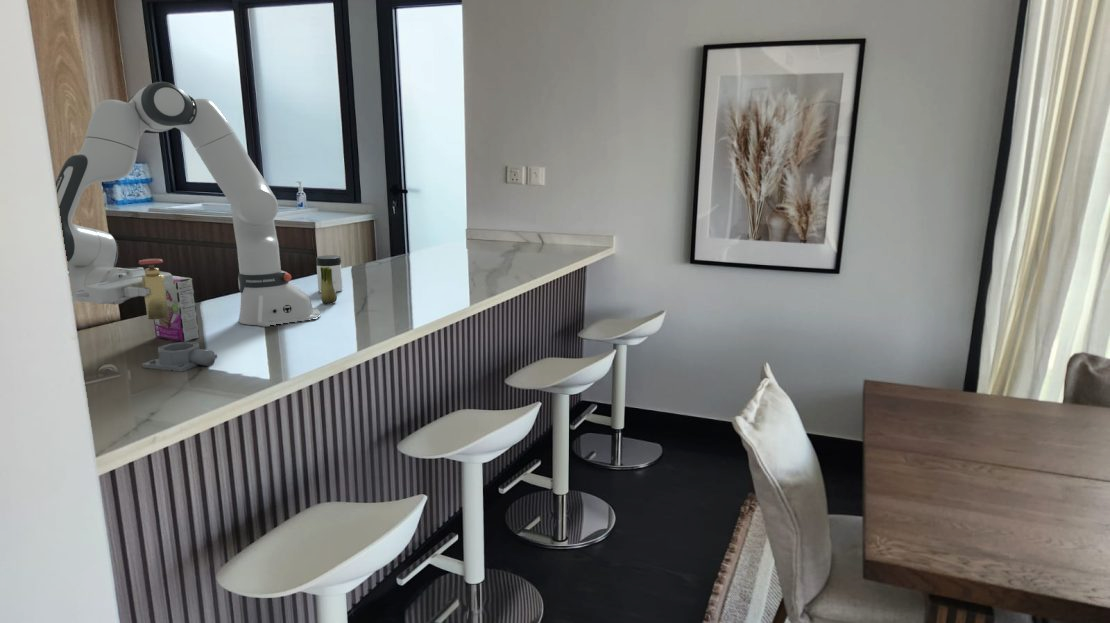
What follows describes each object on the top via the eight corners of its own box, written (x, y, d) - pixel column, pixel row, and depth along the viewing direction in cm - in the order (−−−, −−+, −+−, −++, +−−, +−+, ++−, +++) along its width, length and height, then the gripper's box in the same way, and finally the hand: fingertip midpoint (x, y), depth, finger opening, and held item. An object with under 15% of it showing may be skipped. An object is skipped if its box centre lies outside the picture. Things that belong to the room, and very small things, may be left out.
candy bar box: (154, 337, 182) (146, 277, 178) (171, 333, 186) (163, 273, 182) (183, 343, 177) (176, 280, 173) (200, 338, 182) (193, 277, 178)
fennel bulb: (321, 301, 224) (318, 265, 222) (336, 300, 226) (334, 264, 223) (321, 305, 219) (319, 268, 216) (337, 304, 221) (335, 267, 218)
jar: (324, 294, 236) (321, 259, 233) (313, 290, 241) (310, 257, 238) (348, 290, 242) (345, 257, 239) (337, 287, 247) (334, 254, 245)
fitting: (142, 367, 158) (140, 351, 157) (179, 353, 168) (177, 338, 167) (192, 372, 154) (190, 356, 153) (227, 358, 164) (225, 343, 163)
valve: (170, 313, 166) (163, 258, 162) (168, 318, 161) (161, 261, 158) (147, 315, 164) (140, 259, 160) (145, 320, 159) (137, 262, 156)
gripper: (68, 280, 154) (117, 284, 150) (144, 265, 173) (189, 268, 169) (72, 308, 155) (121, 312, 152) (147, 290, 175) (192, 293, 171)
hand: (157, 289), depth 161 cm, fingers closed on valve, 4 cm apart
